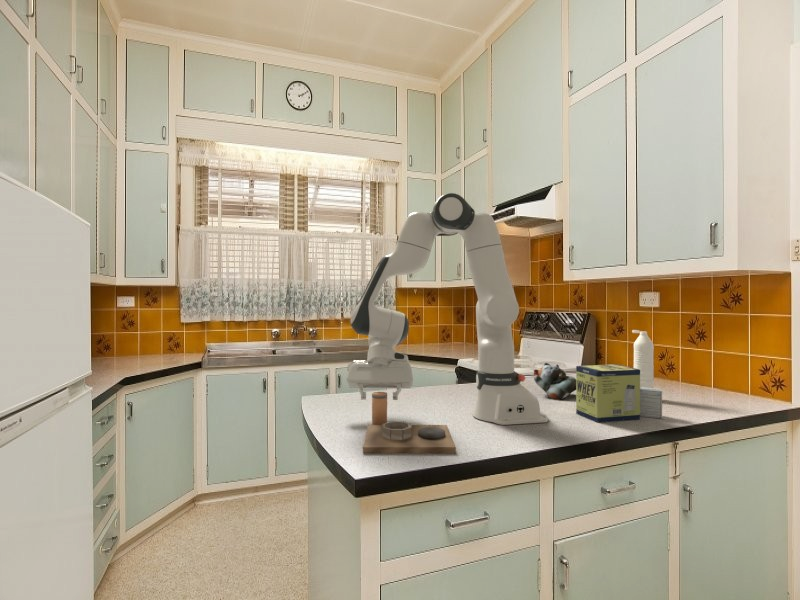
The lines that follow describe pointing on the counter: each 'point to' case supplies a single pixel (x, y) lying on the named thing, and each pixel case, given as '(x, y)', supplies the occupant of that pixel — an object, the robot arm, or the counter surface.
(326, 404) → the counter surface
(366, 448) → the carrier board
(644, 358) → the white pump bottle
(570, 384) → the grey stuffed animal toy
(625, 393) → the protein box
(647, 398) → the medicine box
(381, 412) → the hub peg
